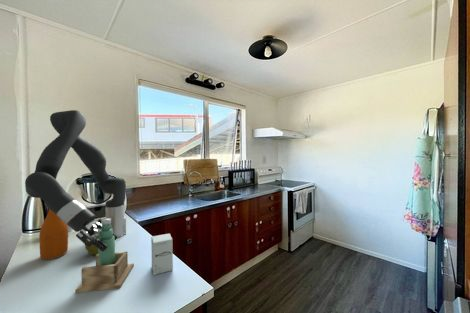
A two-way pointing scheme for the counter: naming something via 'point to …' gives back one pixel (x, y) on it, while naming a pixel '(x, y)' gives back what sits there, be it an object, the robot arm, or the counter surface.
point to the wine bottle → (53, 237)
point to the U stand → (105, 274)
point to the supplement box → (162, 253)
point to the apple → (92, 248)
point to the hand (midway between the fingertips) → (111, 244)
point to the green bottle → (107, 243)
